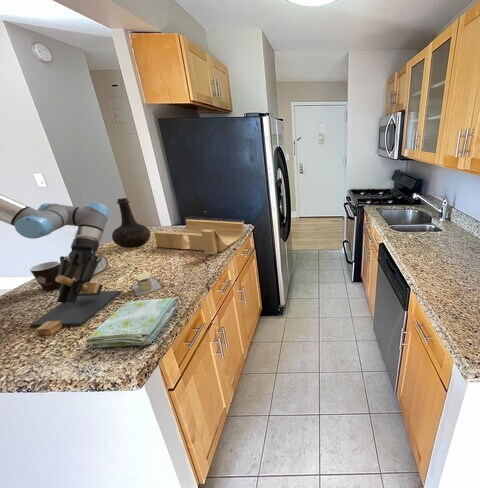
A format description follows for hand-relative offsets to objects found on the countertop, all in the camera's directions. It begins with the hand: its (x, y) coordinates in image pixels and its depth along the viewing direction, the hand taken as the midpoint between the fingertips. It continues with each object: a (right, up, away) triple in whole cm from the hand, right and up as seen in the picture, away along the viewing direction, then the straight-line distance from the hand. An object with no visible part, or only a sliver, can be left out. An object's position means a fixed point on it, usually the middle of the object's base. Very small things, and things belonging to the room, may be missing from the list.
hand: (66, 302), depth 90 cm
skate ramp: (+15, +21, +67) cm, 71 cm away
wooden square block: (+1, -8, -6) cm, 10 cm away
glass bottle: (-22, +19, +63) cm, 69 cm away
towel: (+28, -7, -3) cm, 29 cm away
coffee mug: (-23, +2, +19) cm, 30 cm away
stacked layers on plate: (+15, +2, +20) cm, 25 cm away
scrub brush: (-1, +2, +10) cm, 10 cm away
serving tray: (0, -4, +6) cm, 7 cm away
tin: (-17, +6, +30) cm, 35 cm away
